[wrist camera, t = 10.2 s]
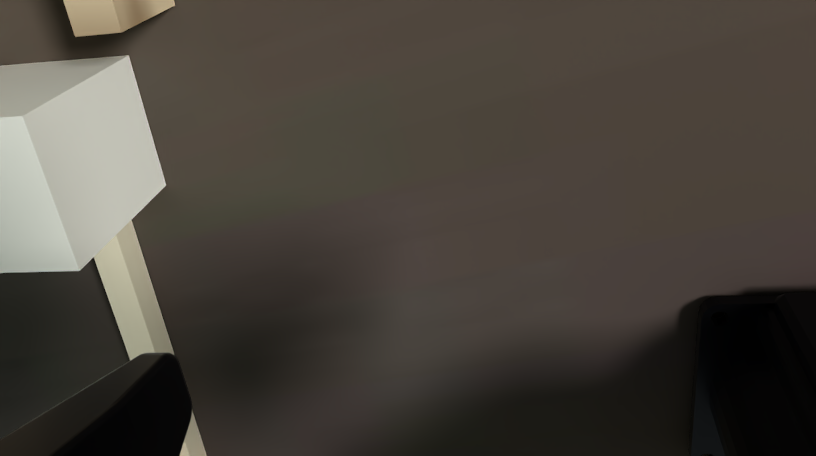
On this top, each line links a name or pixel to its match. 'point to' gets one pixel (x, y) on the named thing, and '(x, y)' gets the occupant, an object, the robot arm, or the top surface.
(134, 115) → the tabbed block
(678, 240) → the top surface
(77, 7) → the oak lane
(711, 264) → the top surface
